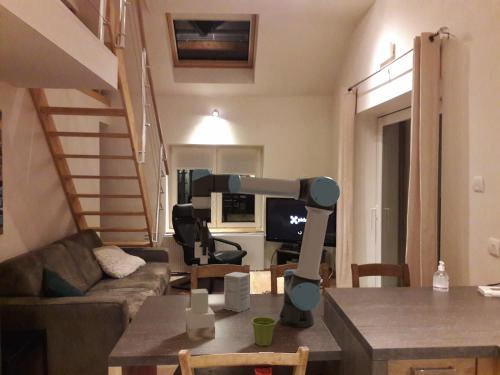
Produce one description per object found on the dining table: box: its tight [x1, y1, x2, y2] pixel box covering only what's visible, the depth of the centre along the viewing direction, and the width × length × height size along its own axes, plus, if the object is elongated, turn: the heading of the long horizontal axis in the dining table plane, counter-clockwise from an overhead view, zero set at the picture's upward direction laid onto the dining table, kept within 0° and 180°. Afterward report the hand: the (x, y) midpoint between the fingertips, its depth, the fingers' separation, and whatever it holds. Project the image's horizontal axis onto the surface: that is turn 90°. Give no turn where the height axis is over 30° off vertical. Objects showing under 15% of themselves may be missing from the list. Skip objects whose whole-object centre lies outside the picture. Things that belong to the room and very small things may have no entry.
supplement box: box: [224, 271, 251, 313], centre depth 196 cm, size 10×9×17 cm
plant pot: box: [251, 316, 277, 347], centre depth 154 cm, size 9×9×9 cm
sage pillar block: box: [190, 288, 209, 314], centre depth 161 cm, size 6×6×8 cm
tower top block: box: [184, 306, 216, 329], centre depth 161 cm, size 10×10×5 cm
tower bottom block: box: [185, 322, 216, 342], centre depth 161 cm, size 10×10×5 cm
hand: (200, 260), depth 162 cm, fingers open, 13 cm apart
